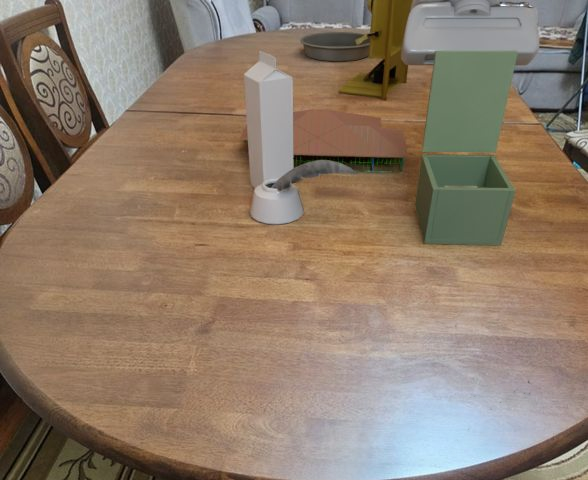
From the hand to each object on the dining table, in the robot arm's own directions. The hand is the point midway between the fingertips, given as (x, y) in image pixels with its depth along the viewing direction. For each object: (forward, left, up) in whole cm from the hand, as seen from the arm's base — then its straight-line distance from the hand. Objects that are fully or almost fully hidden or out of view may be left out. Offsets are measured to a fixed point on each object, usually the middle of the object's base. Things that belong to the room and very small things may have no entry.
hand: (468, 88), depth 83 cm
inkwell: (+25, +6, -19) cm, 32 cm away
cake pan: (+19, -112, -18) cm, 115 cm away
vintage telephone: (+9, -72, -19) cm, 75 cm away
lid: (0, +2, -2) cm, 2 cm away
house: (+22, -24, -18) cm, 37 cm away
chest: (0, +8, -18) cm, 20 cm away
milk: (+31, -5, -19) cm, 37 cm away
